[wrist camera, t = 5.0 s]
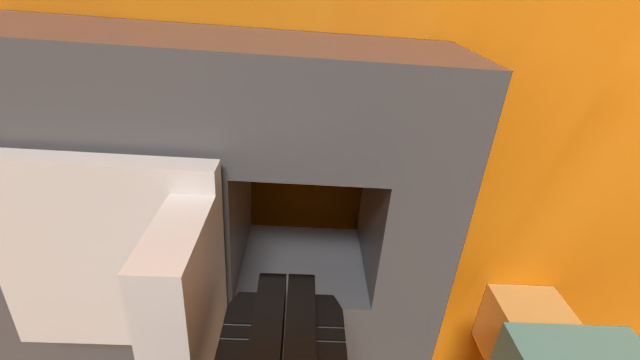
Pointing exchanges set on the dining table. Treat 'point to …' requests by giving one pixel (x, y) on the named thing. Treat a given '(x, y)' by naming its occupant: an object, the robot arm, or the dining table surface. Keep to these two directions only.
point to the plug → (544, 328)
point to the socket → (276, 150)
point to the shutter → (114, 250)
